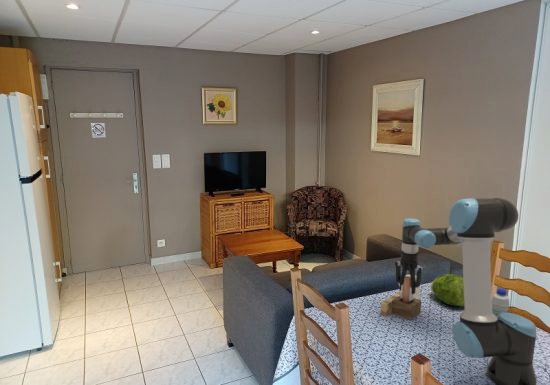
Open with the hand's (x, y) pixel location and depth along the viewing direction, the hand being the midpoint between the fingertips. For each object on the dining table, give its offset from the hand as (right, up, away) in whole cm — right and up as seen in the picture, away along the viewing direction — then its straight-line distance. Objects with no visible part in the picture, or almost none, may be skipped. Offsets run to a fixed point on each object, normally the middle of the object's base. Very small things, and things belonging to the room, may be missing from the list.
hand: (406, 298), depth 188 cm
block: (0, -7, +1) cm, 8 cm away
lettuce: (+27, -6, +14) cm, 31 cm away
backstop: (-5, -7, +6) cm, 10 cm away
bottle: (+34, -11, -16) cm, 39 cm away
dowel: (0, -4, +1) cm, 4 cm away
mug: (+7, -5, +18) cm, 20 cm away
